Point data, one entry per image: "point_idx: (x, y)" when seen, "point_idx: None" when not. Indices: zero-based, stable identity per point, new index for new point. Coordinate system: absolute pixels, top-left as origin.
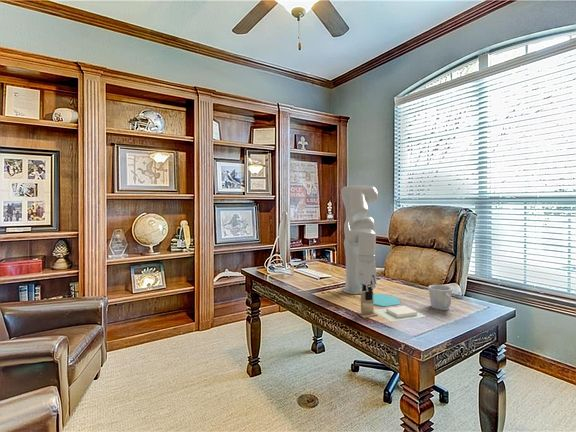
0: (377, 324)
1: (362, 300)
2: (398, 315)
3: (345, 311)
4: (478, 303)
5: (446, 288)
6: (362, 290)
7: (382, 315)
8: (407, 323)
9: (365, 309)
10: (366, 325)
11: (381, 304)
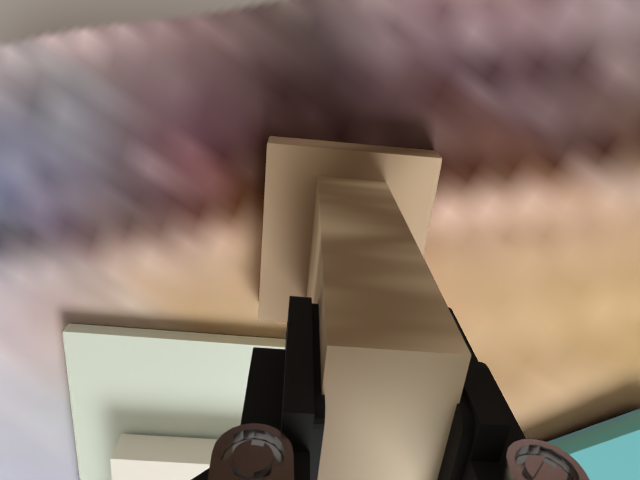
0: (69, 181)
1: (359, 253)
2: (113, 456)
3: (604, 78)
4: None
5: None
6: (473, 413)
7: (244, 357)
8: (22, 433)
9: (316, 227)
10: (74, 42)
11: None
